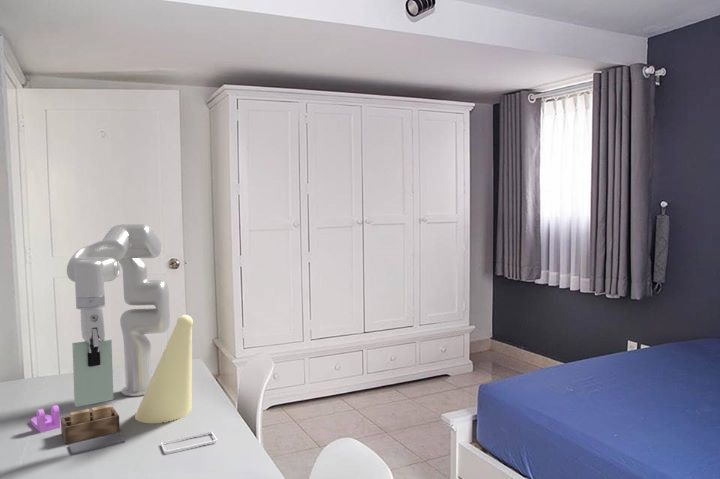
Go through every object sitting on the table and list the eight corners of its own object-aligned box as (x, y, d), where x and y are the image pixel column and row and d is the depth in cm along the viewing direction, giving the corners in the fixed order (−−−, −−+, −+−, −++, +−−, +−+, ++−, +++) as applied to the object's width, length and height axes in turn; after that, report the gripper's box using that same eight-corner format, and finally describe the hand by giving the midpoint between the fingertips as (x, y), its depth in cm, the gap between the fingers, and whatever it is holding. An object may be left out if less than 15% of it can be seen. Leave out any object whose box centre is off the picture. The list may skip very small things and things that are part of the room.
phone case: (164, 456, 153) (217, 444, 160) (164, 451, 153) (217, 439, 160) (160, 446, 159) (212, 435, 166) (160, 442, 159) (211, 431, 166)
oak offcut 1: (89, 434, 168) (88, 408, 167) (90, 436, 165) (89, 411, 165) (71, 438, 165) (70, 412, 164) (72, 441, 163) (71, 415, 162)
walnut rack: (113, 421, 177) (112, 407, 176) (119, 431, 169) (119, 415, 169) (61, 433, 168) (60, 418, 168) (65, 444, 160) (64, 427, 160)
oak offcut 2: (110, 429, 171) (109, 404, 171) (112, 431, 169) (110, 406, 168) (93, 433, 168) (91, 408, 168) (94, 435, 166) (93, 410, 166)
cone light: (123, 415, 182) (119, 313, 180) (170, 399, 197) (166, 304, 195) (168, 432, 168) (164, 321, 166) (215, 413, 183) (211, 311, 181)
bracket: (60, 427, 173) (59, 406, 173) (40, 433, 169) (39, 411, 169) (47, 417, 182) (46, 397, 182) (29, 422, 178) (28, 401, 178)
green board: (111, 397, 163) (109, 338, 162) (113, 399, 161) (111, 339, 160) (74, 404, 157) (72, 343, 156) (75, 406, 155) (73, 344, 154)
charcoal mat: (119, 434, 167) (119, 432, 167) (124, 442, 161) (124, 440, 161) (68, 446, 159) (68, 444, 159) (72, 455, 153) (72, 453, 153)
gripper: (110, 304, 153) (112, 368, 154) (99, 297, 166) (101, 356, 167) (80, 307, 149) (83, 373, 150) (71, 300, 162) (74, 360, 163)
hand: (93, 363), depth 158 cm, fingers closed on green board, 2 cm apart
